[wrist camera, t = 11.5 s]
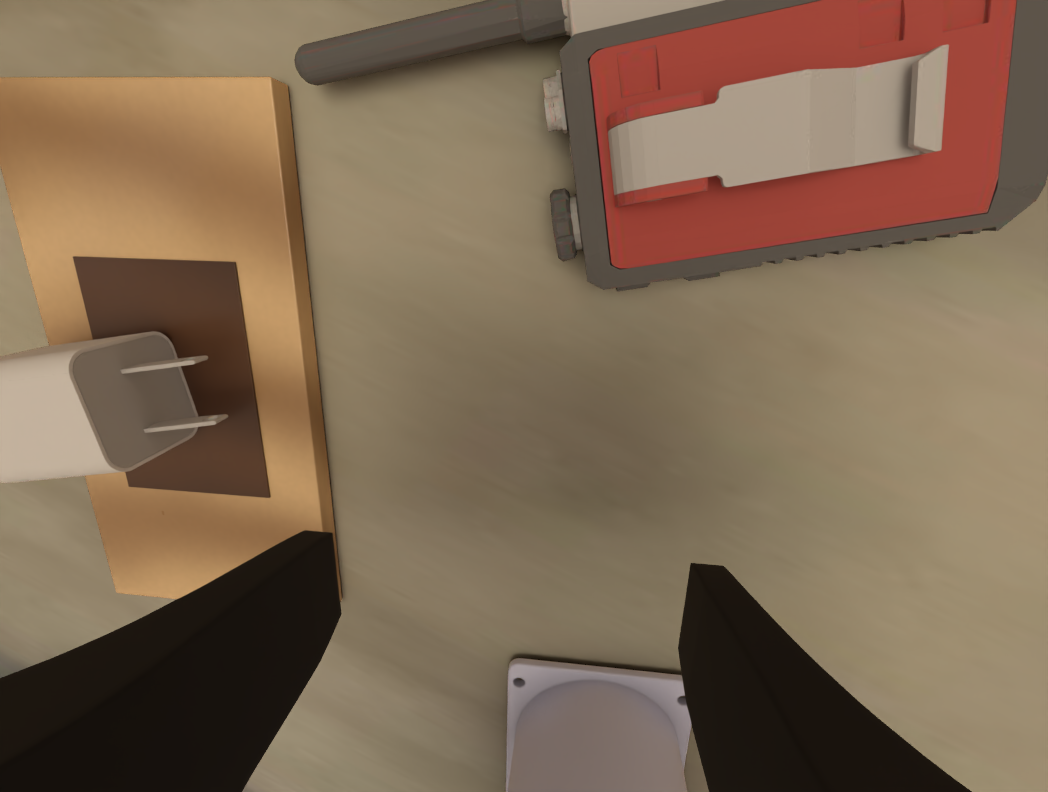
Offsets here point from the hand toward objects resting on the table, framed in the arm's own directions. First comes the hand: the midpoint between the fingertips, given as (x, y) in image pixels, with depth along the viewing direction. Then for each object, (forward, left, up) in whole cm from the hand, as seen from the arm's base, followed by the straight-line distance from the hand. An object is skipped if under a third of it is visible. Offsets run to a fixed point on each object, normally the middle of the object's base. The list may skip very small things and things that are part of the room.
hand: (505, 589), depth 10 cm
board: (+1, +14, -9) cm, 16 cm away
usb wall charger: (+1, +14, -8) cm, 16 cm away
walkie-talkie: (+10, -3, -10) cm, 14 cm away
